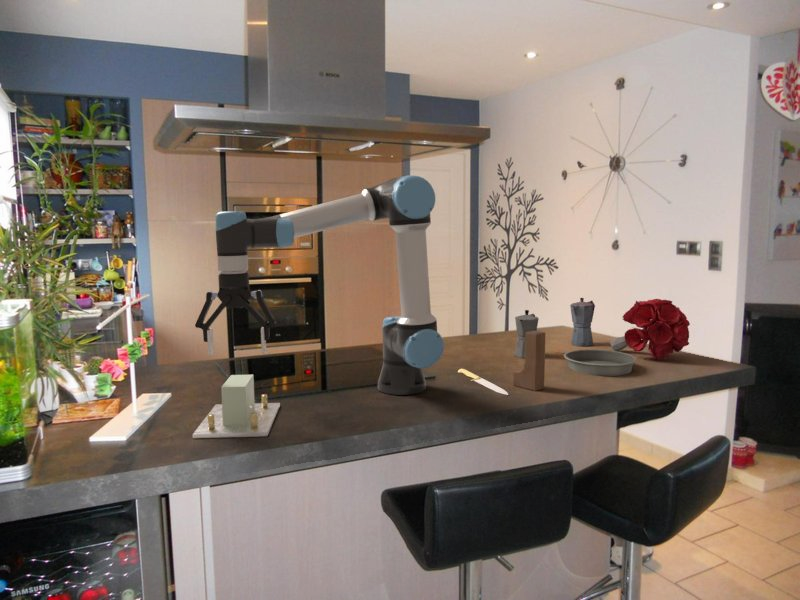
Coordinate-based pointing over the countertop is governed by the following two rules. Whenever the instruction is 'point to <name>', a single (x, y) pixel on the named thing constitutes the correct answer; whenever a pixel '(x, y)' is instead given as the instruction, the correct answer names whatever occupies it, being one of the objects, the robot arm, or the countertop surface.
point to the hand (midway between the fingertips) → (237, 353)
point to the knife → (483, 381)
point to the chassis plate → (254, 428)
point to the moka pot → (582, 322)
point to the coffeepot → (524, 331)
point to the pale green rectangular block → (238, 399)
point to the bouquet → (654, 328)
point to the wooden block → (532, 363)
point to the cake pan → (600, 362)
